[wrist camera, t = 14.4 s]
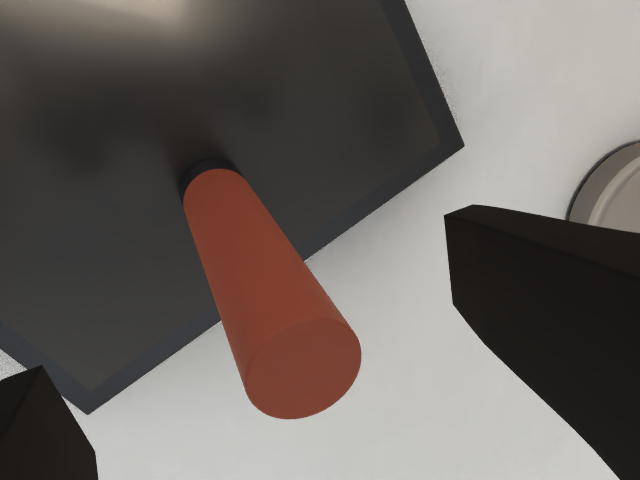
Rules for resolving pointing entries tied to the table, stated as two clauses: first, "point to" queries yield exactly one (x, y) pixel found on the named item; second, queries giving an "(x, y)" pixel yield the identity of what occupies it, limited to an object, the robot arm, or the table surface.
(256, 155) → the tablet
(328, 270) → the table surface
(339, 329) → the stylus
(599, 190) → the travel mug
